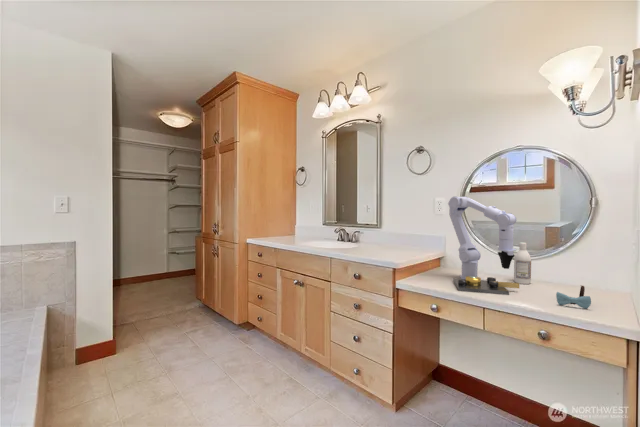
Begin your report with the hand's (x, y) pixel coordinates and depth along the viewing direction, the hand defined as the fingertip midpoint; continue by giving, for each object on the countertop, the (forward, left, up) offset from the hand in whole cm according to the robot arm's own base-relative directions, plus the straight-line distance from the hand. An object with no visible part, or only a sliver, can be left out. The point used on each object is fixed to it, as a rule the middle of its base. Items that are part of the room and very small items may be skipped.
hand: (505, 268), depth 135 cm
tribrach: (+2, -11, -9) cm, 15 cm away
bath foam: (-13, +11, -10) cm, 20 cm away
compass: (+15, +19, -10) cm, 26 cm away
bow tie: (+21, +17, -10) cm, 29 cm away
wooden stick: (+5, -2, -8) cm, 9 cm away
